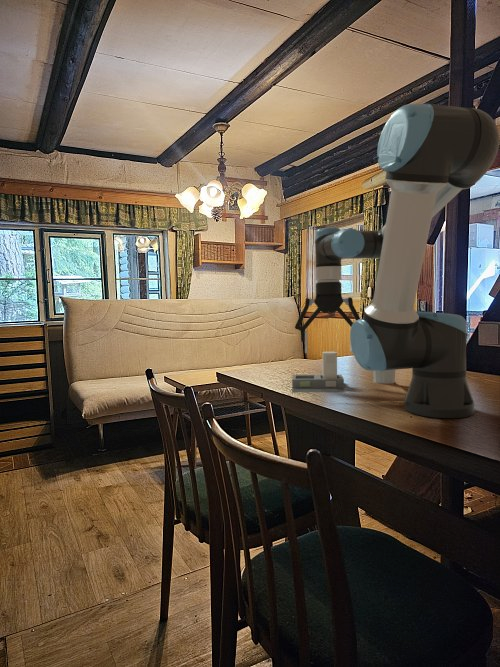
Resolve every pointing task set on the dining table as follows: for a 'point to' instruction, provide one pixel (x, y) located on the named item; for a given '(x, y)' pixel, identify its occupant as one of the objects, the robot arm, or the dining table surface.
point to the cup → (384, 377)
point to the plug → (330, 365)
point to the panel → (317, 384)
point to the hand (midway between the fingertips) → (329, 352)
